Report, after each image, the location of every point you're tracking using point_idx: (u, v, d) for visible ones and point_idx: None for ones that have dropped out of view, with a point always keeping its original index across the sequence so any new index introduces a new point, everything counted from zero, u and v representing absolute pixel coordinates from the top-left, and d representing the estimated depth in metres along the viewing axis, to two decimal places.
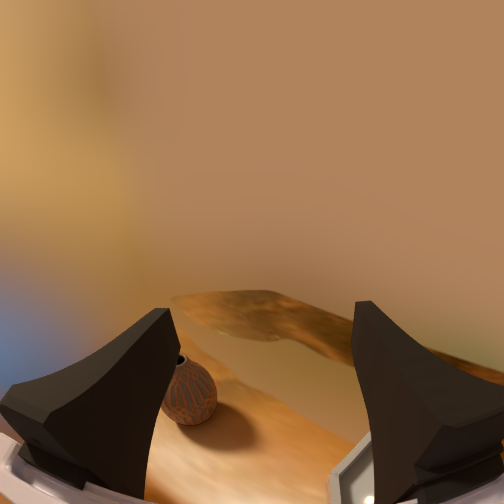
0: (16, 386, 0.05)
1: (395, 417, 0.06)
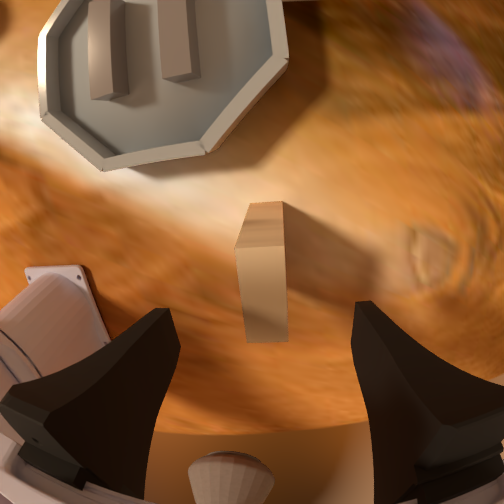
0: (16, 386, 0.05)
1: (395, 417, 0.06)
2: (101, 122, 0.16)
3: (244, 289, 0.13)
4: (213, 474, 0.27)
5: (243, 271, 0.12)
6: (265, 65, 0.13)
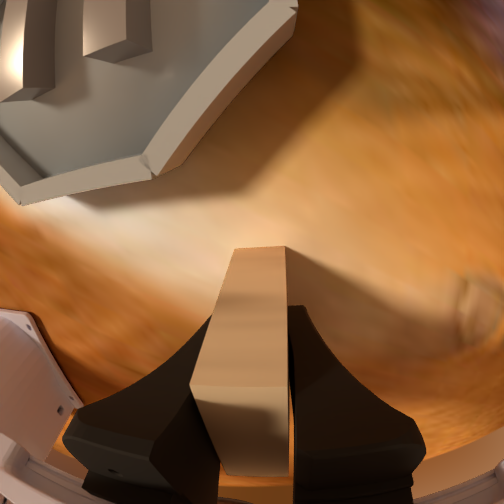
0: (85, 411, 0.05)
1: None
2: (24, 131, 0.09)
3: (214, 431, 0.06)
4: None
5: (211, 413, 0.06)
6: (255, 18, 0.06)
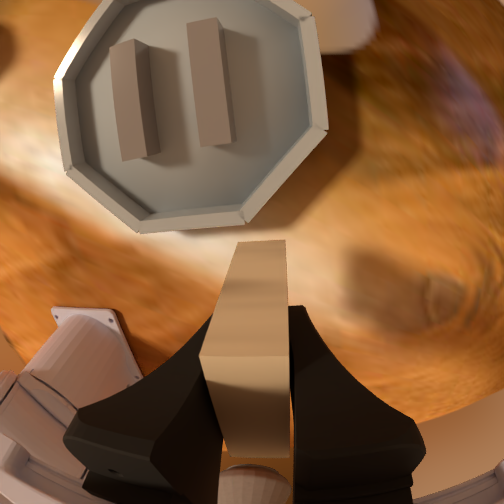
0: (85, 410, 0.05)
1: None
2: (131, 179, 0.17)
3: (220, 407, 0.07)
4: (236, 486, 0.28)
5: (217, 386, 0.07)
6: (305, 137, 0.14)
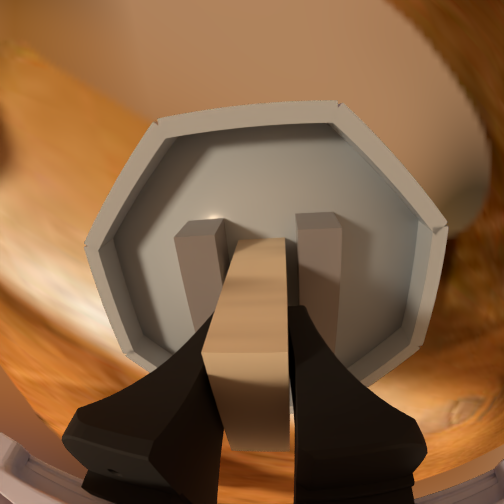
0: (84, 410, 0.05)
1: None
2: None
3: (221, 401, 0.07)
4: None
5: (219, 382, 0.07)
6: (400, 353, 0.13)
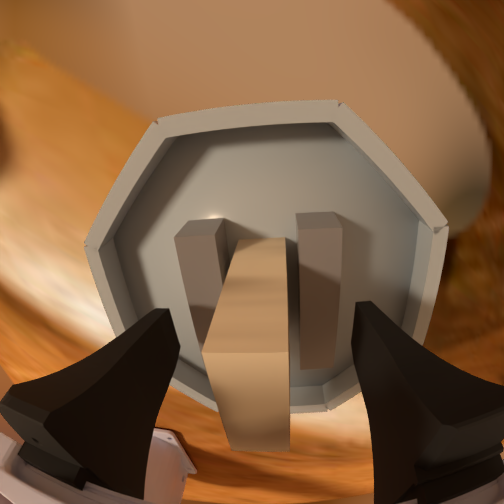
0: (16, 387, 0.05)
1: (395, 417, 0.06)
2: None
3: (222, 401, 0.07)
4: None
5: (219, 382, 0.07)
6: None
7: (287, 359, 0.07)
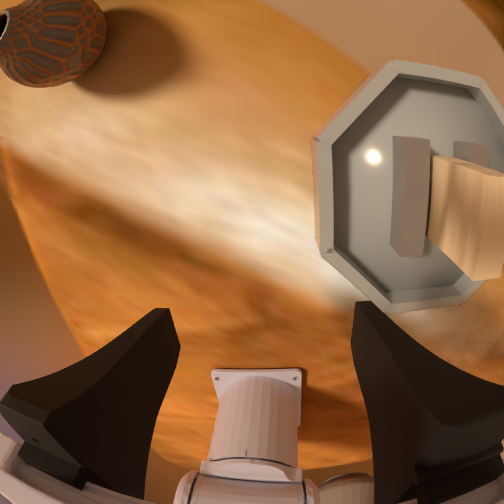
0: (16, 386, 0.05)
1: (395, 417, 0.06)
2: (378, 262, 0.19)
3: (487, 218, 0.10)
4: (345, 494, 0.30)
5: (491, 200, 0.09)
6: None
7: None
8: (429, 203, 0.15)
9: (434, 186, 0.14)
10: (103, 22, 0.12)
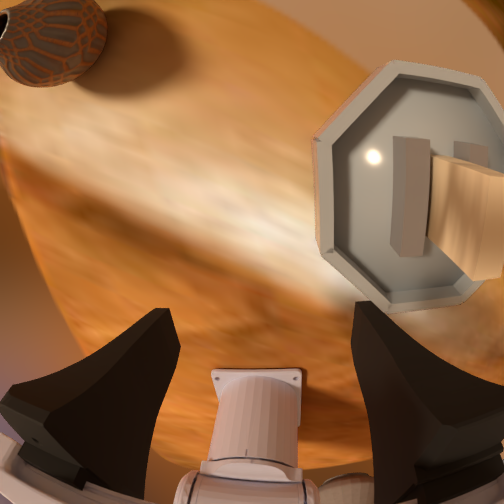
0: (16, 386, 0.05)
1: (395, 417, 0.06)
2: (378, 262, 0.19)
3: (487, 218, 0.10)
4: (345, 494, 0.30)
5: (491, 200, 0.09)
6: None
7: None
8: (429, 203, 0.15)
9: (434, 186, 0.14)
10: (103, 22, 0.12)
